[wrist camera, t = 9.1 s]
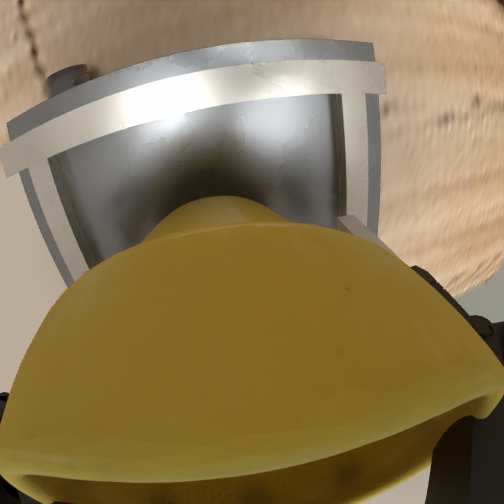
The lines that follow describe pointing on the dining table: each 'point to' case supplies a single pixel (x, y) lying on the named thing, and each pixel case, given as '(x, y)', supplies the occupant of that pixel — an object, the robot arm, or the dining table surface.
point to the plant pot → (241, 370)
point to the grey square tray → (200, 142)
